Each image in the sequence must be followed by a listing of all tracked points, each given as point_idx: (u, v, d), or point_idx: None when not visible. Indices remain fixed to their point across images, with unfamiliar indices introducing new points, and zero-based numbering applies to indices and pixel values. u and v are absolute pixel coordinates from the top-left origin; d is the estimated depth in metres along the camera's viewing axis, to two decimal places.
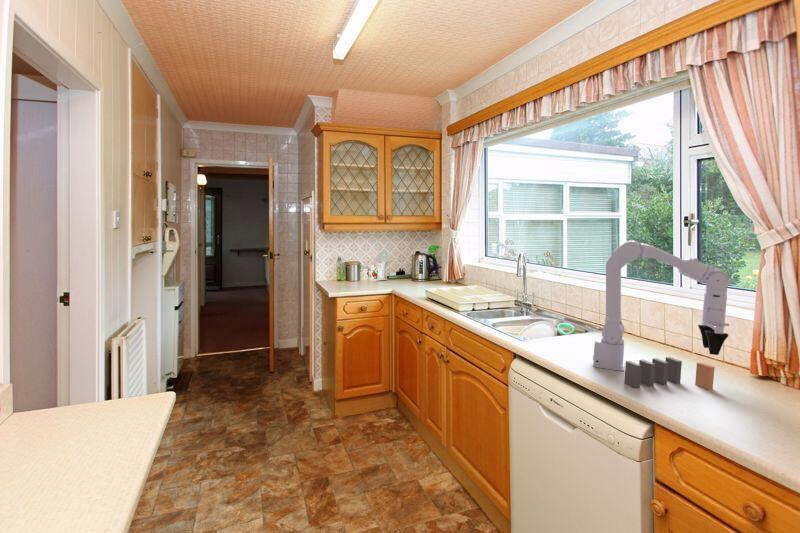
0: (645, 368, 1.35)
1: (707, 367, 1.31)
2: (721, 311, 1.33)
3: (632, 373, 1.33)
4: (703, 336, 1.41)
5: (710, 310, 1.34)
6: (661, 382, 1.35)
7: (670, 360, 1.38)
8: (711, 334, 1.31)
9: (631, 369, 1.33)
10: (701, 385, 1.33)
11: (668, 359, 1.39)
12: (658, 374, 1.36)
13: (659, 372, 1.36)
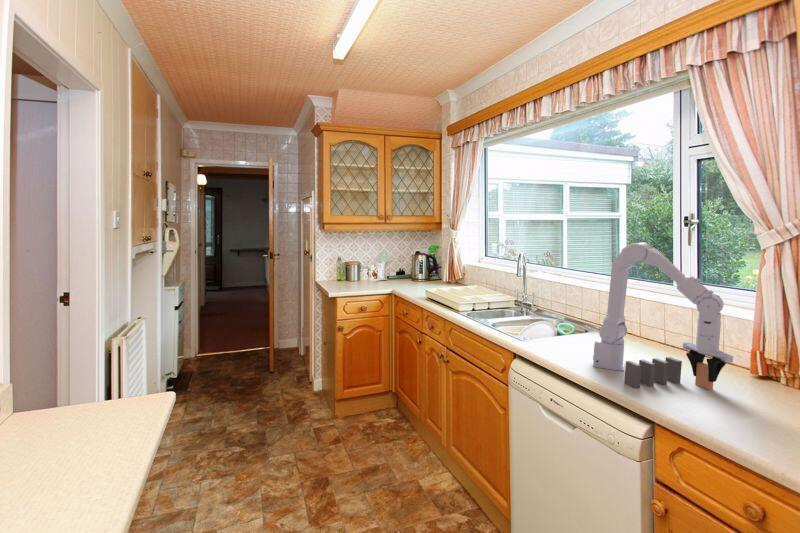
0: (645, 368, 1.35)
1: (707, 367, 1.31)
2: (719, 338, 1.30)
3: (632, 373, 1.33)
4: (694, 365, 1.35)
5: (711, 338, 1.29)
6: (661, 382, 1.35)
7: (670, 360, 1.38)
8: (717, 362, 1.28)
9: (631, 369, 1.33)
10: (701, 385, 1.33)
11: (668, 359, 1.39)
12: (658, 374, 1.36)
13: (659, 372, 1.36)
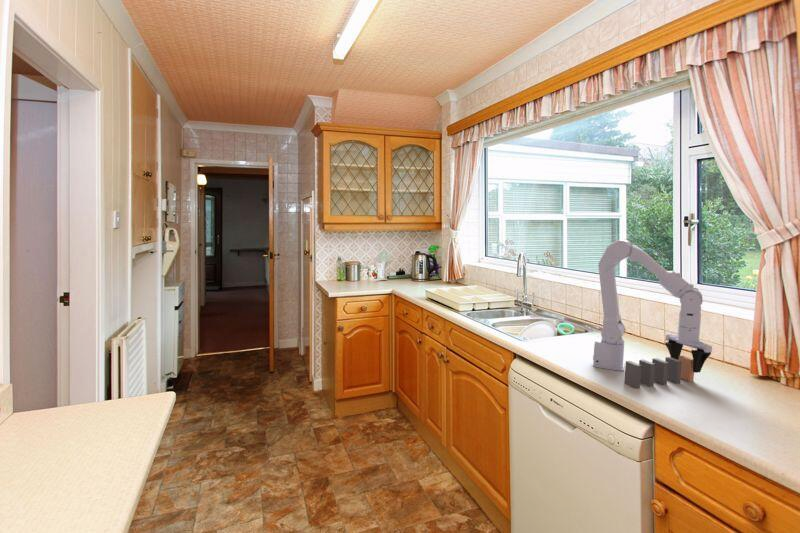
0: (645, 368, 1.35)
1: (688, 360, 1.38)
2: (699, 329, 1.36)
3: (632, 373, 1.33)
4: (673, 354, 1.42)
5: (692, 329, 1.36)
6: (661, 382, 1.35)
7: (670, 360, 1.38)
8: (701, 354, 1.33)
9: (631, 369, 1.33)
10: (682, 377, 1.40)
11: (668, 359, 1.39)
12: (658, 374, 1.36)
13: (659, 372, 1.36)
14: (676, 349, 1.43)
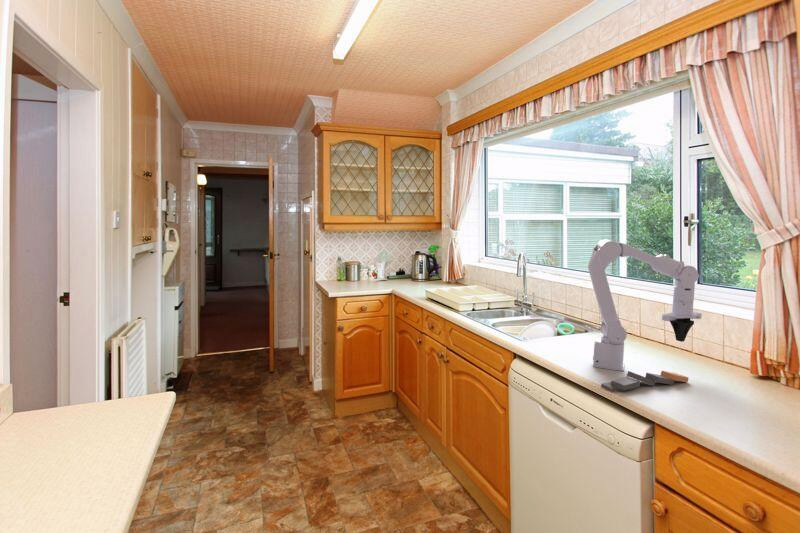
0: None
1: (672, 379, 1.35)
2: (680, 303, 1.43)
3: None
4: None
5: (673, 301, 1.46)
6: (651, 385, 1.34)
7: (651, 379, 1.35)
8: (671, 320, 1.47)
9: None
10: None
11: (649, 378, 1.36)
12: None
13: None
14: None
